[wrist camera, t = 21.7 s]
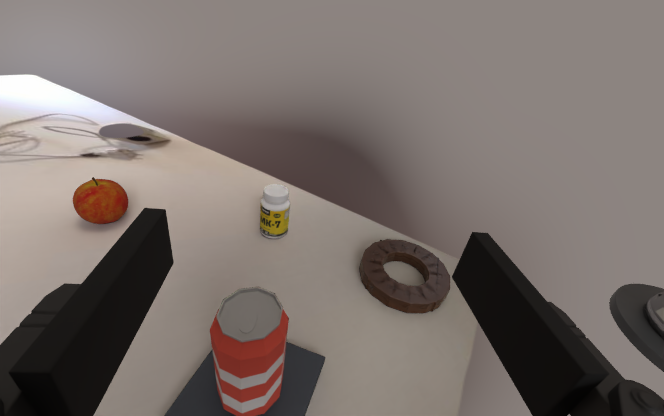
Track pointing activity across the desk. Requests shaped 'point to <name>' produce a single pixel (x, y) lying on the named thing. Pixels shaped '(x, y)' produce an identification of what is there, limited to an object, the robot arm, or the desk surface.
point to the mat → (286, 412)
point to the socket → (400, 294)
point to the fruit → (100, 201)
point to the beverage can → (249, 350)
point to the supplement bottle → (274, 211)
